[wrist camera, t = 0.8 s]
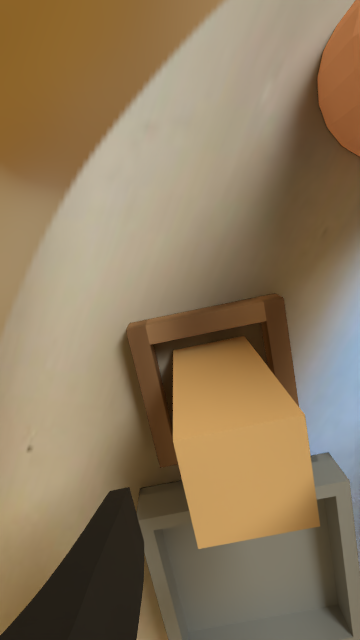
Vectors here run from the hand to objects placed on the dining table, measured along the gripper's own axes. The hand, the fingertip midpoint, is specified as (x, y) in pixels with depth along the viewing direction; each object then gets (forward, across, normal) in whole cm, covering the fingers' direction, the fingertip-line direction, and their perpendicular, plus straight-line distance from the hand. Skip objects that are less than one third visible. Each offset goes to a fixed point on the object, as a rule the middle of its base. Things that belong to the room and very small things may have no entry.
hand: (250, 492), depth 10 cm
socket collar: (+9, 0, 0) cm, 9 cm away
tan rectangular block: (+9, 0, 0) cm, 9 cm away
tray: (+9, 0, +12) cm, 15 cm away
